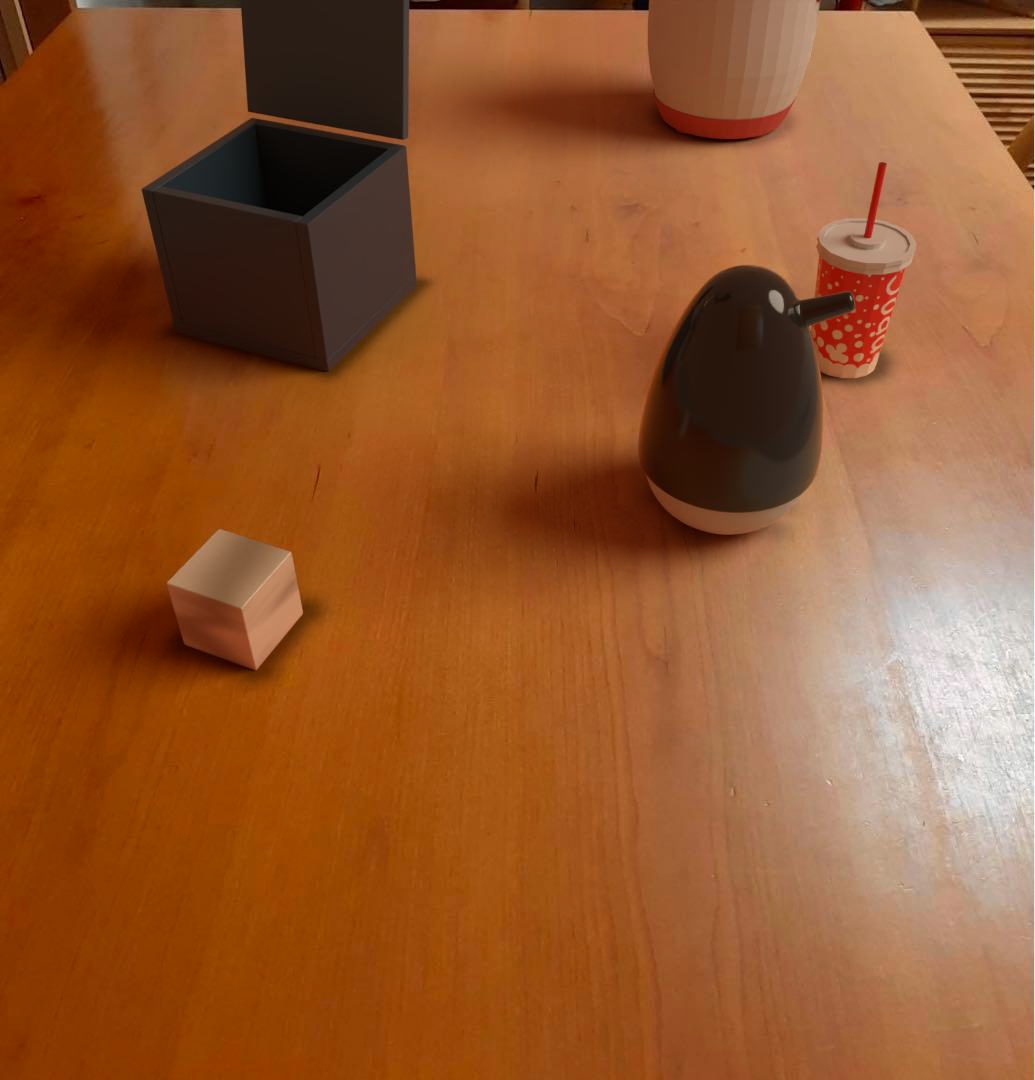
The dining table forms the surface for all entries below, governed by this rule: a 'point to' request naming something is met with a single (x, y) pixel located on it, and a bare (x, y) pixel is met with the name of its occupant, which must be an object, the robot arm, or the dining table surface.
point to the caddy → (285, 240)
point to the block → (236, 598)
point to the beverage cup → (859, 287)
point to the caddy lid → (329, 62)
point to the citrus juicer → (729, 62)
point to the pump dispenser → (737, 403)
